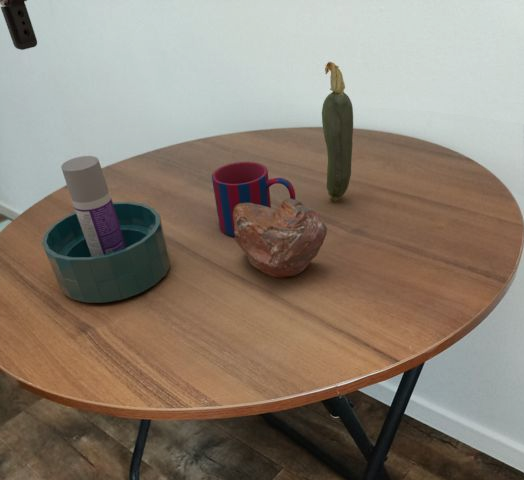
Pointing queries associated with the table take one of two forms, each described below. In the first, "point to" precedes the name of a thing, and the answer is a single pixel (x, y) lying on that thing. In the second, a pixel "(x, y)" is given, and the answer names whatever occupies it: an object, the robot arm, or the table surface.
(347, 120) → the vegetable
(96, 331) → the table surface
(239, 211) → the stone
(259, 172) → the mug
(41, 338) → the table surface
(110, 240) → the container
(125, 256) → the teal pet bowl
